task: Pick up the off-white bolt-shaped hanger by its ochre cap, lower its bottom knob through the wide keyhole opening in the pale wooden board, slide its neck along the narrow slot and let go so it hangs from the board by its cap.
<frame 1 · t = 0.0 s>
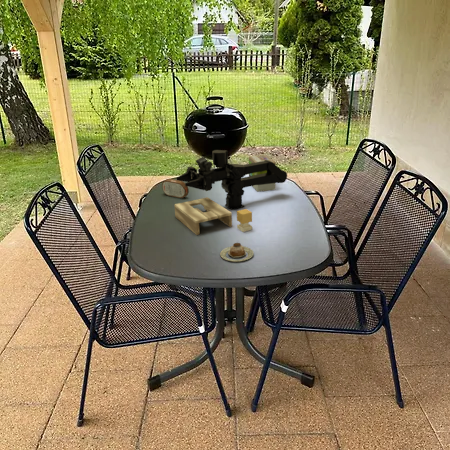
hand: (180, 181, 181), 17 cm above the table, tool horizontal, fingers open, 9 cm apart
tea box: (261, 187, 224), on the table
tin: (175, 196, 214), on the table
hanger: (244, 228, 175), on the table
pastry: (236, 256, 155), on the table
keyhole board: (202, 221, 184), on the table
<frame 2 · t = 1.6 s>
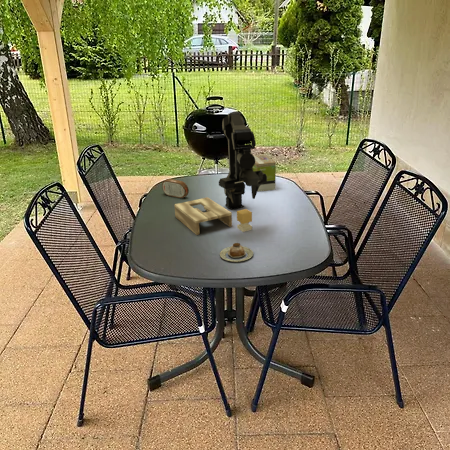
hand: (243, 200, 171), 12 cm above the table, tool pointing down, fingers open, 9 cm apart
nothing on the table moved.
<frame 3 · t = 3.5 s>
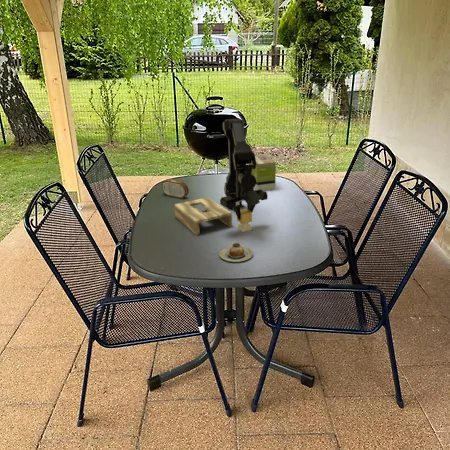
hand: (244, 218, 174), 5 cm above the table, tool pointing down, fingers closed on hanger, 4 cm apart
hanger: (244, 228, 175), on the table, touching gripper
everything else where it was.
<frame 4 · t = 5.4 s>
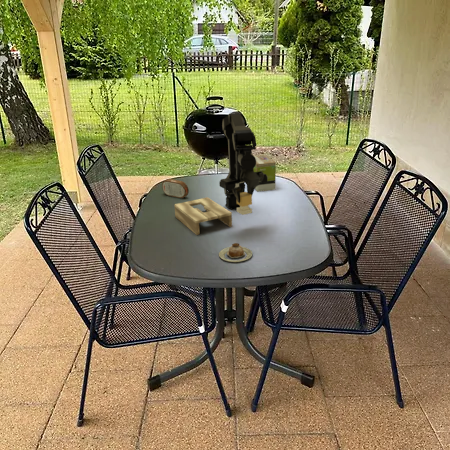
hand: (244, 201, 171), 12 cm above the table, tool pointing down, fingers closed on hanger, 4 cm apart
hanger: (244, 212, 172), point 7 cm above the table, touching gripper
everything else where it was.
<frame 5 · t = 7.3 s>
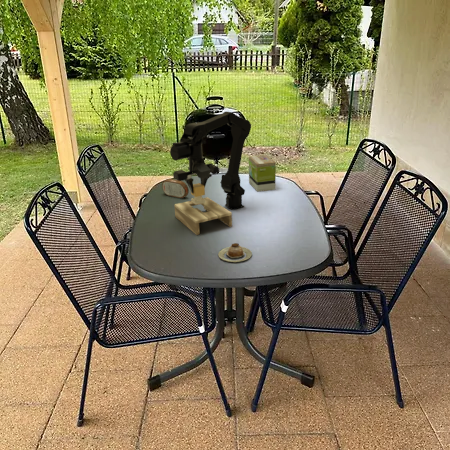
hand: (197, 192, 182), 12 cm above the table, tool pointing down, fingers closed on hanger, 4 cm apart
hanger: (198, 202, 184), point 7 cm above the table, touching gripper
everything else where it was.
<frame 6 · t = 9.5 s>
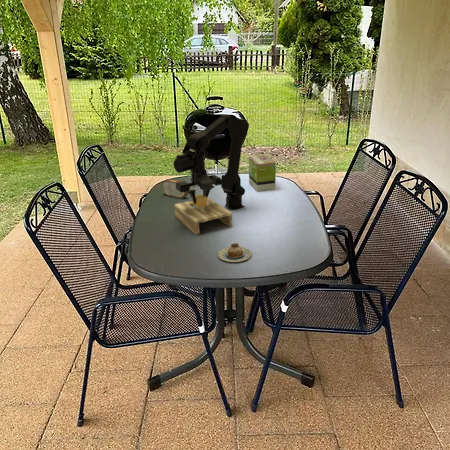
hand: (200, 203, 182), 8 cm above the table, tool pointing down, fingers closed on hanger, 4 cm apart
hanger: (200, 213, 184), point 3 cm above the table, touching gripper
everything else where it was.
when the fingers open (8 cm above the table, at t = 11.5 s): hanger stays where it is, resting on keyhole board.
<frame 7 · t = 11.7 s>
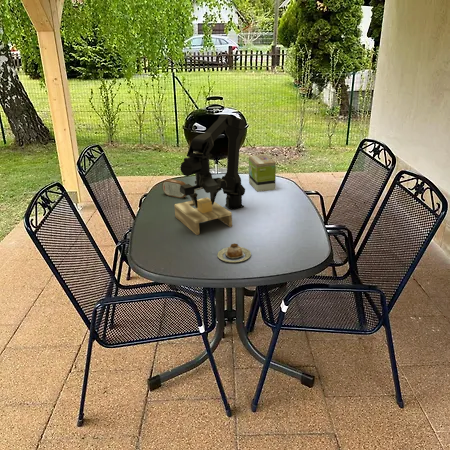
hand: (204, 206, 179), 8 cm above the table, tool pointing down, fingers open, 7 cm apart
hanger: (205, 218, 181), point 2 cm above the table, touching keyhole board
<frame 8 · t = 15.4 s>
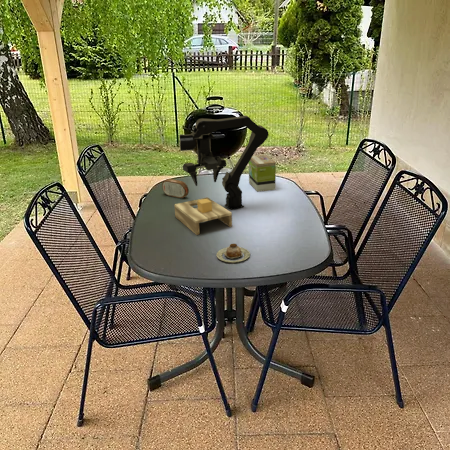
hand: (205, 183, 192), 12 cm above the table, tool pointing down, fingers open, 9 cm apart
at the end: hanger 0.0 cm from the target spot on the keyhole board, point 2.5 cm above the keyhole board's base; hanger tilted 0°; the gripper is holding nothing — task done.
